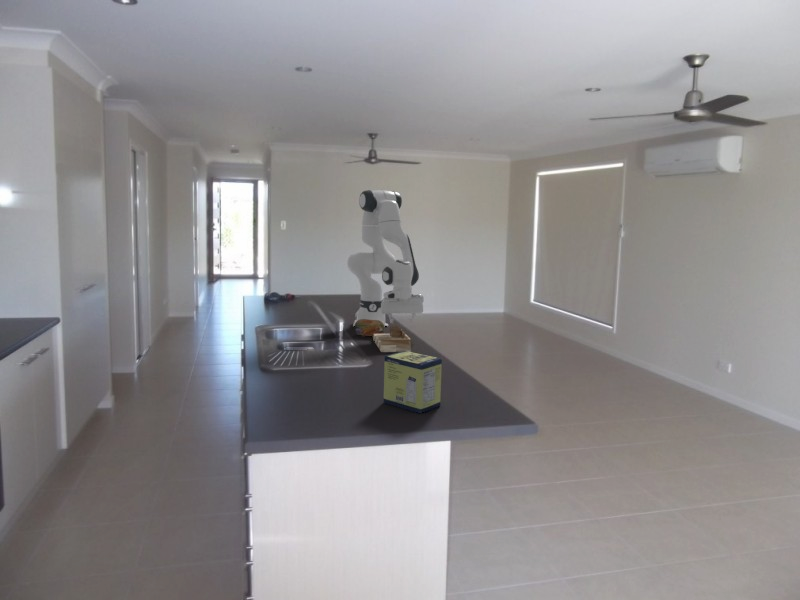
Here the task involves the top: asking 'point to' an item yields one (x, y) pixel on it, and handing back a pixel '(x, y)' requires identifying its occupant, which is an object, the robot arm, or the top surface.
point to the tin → (369, 327)
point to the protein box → (412, 381)
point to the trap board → (392, 342)
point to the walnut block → (395, 331)
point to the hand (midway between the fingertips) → (401, 322)
